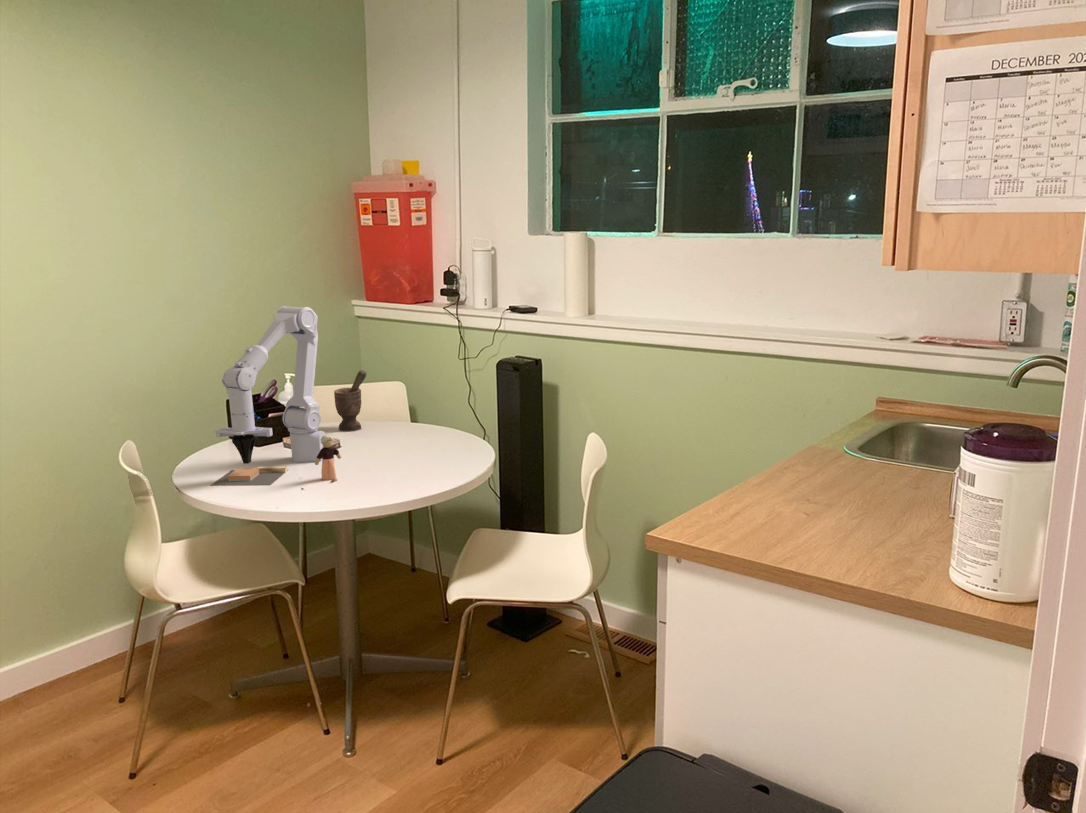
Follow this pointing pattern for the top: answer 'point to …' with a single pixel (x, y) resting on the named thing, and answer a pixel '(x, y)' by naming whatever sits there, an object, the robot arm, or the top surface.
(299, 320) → the robot arm
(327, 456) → the grandmother figurine
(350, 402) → the mortar and pestle
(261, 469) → the light wooden plank
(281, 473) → the mat
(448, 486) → the top surface
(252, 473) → the tile
